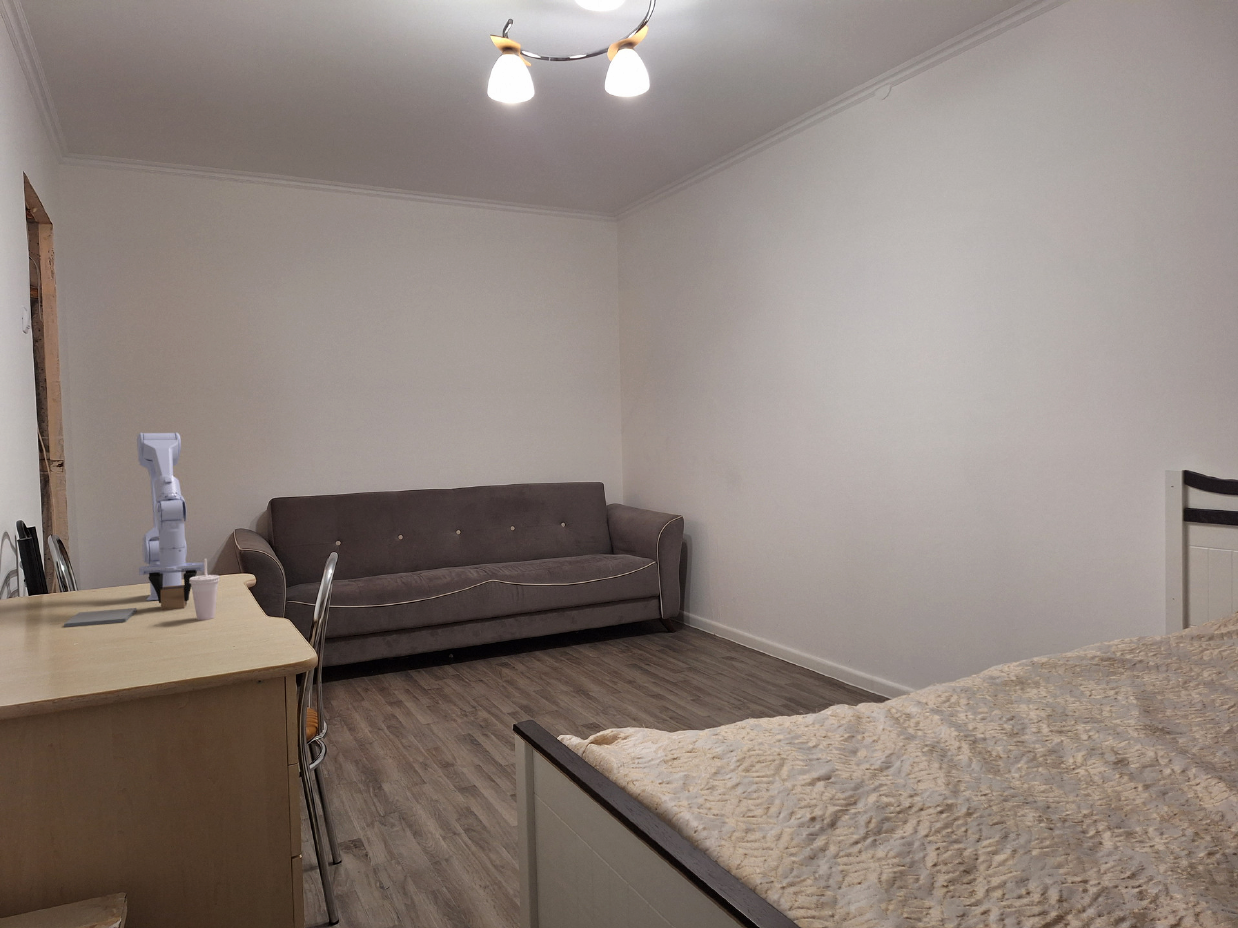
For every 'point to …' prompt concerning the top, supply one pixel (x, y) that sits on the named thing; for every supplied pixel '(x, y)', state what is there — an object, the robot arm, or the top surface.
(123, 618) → the coaster
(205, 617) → the smoothie
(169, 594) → the walnut cube
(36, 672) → the top surface
